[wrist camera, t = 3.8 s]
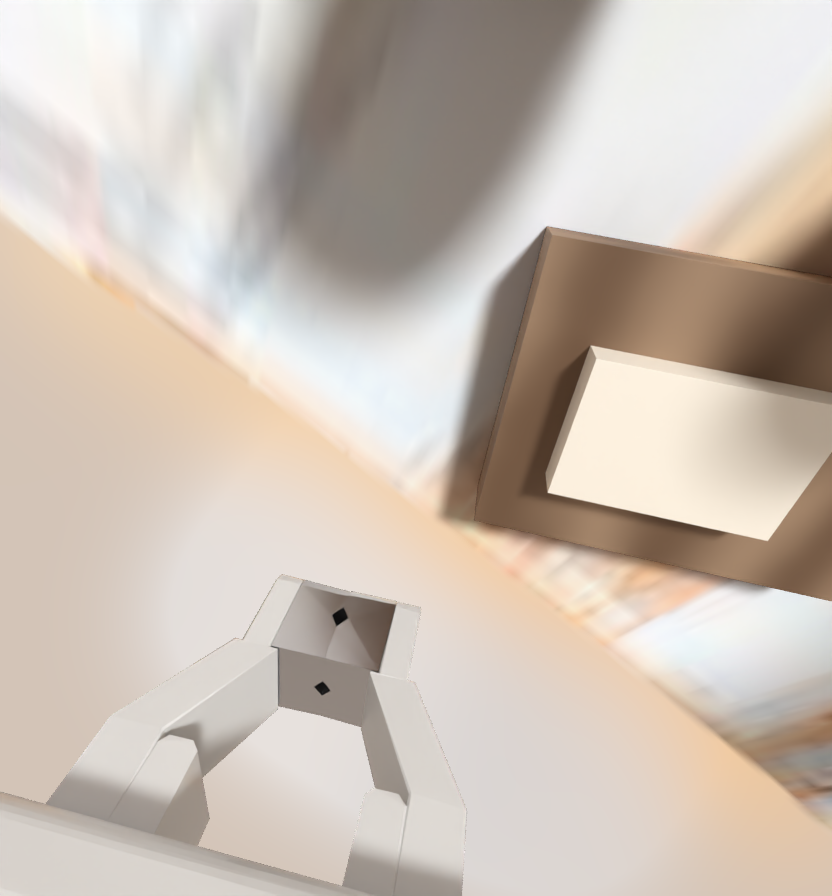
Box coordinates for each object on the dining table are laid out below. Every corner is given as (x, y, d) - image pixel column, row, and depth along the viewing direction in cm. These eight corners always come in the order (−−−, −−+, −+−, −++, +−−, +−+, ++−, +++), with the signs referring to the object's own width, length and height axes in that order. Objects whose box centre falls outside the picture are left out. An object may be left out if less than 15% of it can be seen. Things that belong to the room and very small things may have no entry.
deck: (1027, 311, 18) (1114, 335, 15) (820, 561, 24) (856, 607, 22) (546, 226, 19) (552, 235, 16) (477, 485, 26) (474, 520, 23)
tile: (835, 393, 17) (861, 411, 16) (751, 517, 20) (767, 540, 19) (590, 345, 18) (596, 358, 17) (545, 473, 21) (547, 492, 20)
